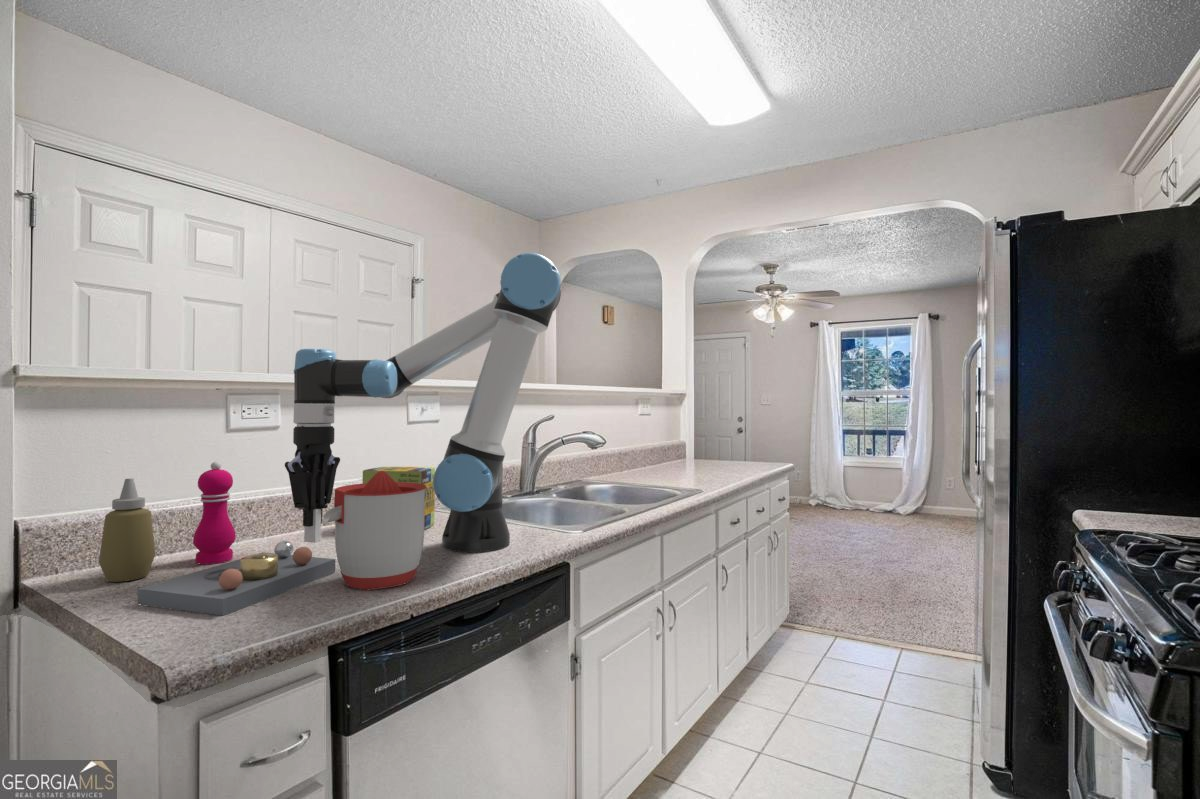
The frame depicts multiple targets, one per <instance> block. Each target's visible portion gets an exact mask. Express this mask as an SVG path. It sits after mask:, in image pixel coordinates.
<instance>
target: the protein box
mask: <svg viewBox="0 0 1200 799" xmlns="http://www.w3.org/2000/svg"><path fill="white" fill-rule="evenodd" d="M381 470H382V471H384V472H386V473H387V474H388V475H389V476H390V477H391V478H392V479H393V480H394V481H395V482H409V483H419V484H423V485H426V489H425V509H424V530H425V531H426V530H428V529H430V528H432V527H433V525H434V524H435V519H436V518H435V511H436V510H435V508H436V507H435V499H436V498H435V497H436V494H435V492H434V488H433V478H434V474H435V471H436V467H435V466H377V467H372V468H367V469H364V470H363V469H362V483H368V482H369V480H370V479H371V478H372V477H373V476H374V475H375V474H376V473H378V472H379V471H381ZM431 526H432V527H431ZM434 526H435V525H434Z"/></svg>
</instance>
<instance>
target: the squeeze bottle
mask: <svg viewBox="0 0 1200 799" xmlns="http://www.w3.org/2000/svg"><path fill="white" fill-rule="evenodd" d="M134 480H135V479H134V478H132V477H131V478H125V479H124V481H123V486H122V488H121V492H120V496H119V498H115V499H112V502H111V509H112V510H111V511H110V512H108V513H106V515H105V516H104V522H103V523H104V524H103V530H102V537H101V544H100V550H99V558H98V564H99V567H100V568H101V570H102V574H103V576H104V577H105V581H107V582H110V583H123V581H124V582H131V581H135V580H138V579H142V578H145V577H147V576H148V574H149V572H150V570H151V567H152V565H153V562H154V559H155V557H156V547H155V536H154V526H153V518H152V511H151V510H149V509H148V508H144V507H145V506H146V498H145V497H140V496H138V492H137V491H138V490H137V486H136V484H135V481H134ZM130 580H131V581H130Z"/></svg>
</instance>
